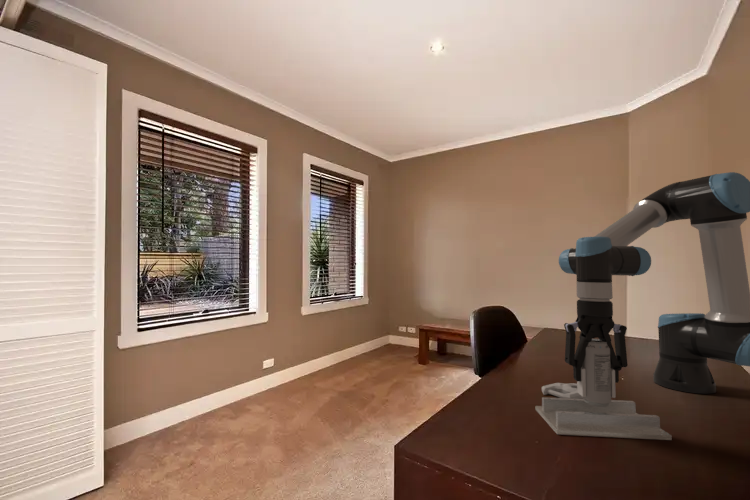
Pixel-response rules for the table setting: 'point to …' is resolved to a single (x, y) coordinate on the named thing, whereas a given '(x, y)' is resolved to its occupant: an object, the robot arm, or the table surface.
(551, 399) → the grey flanged channel tray
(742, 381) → the table surface
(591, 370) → the energy drink can
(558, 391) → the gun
